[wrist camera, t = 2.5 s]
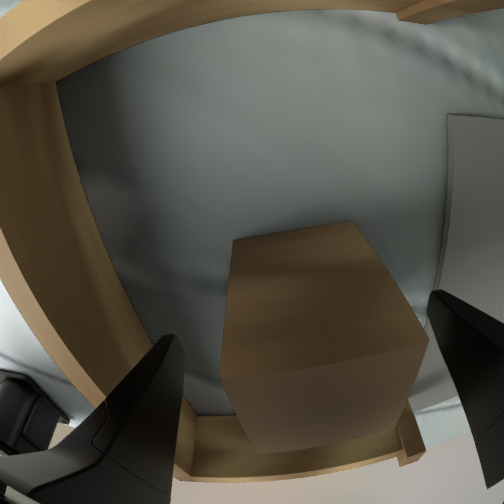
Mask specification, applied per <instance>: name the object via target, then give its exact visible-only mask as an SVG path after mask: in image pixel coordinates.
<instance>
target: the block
mask: <svg viewBox="0 0 504 504" xmlns="http://www.w3.org/2000/svg"><path fill="white" fill-rule="evenodd" d="M429 340H430V339H429V337H428V335H427V334H426V332H425V330H424V328H423V327H422V325H421V323H420V321H419V320H418V318H417V316H416V315H415V313H414V311H413V310H412V308H411V306H410V305H409V303H408V302H407V300H406V298H405V297H404V295H403V293H402V292H401V290H400V289H399V287H398V286H397V284H396V283H395V281H394V279H393V278H392V276H391V275H390V273H389V272H388V270H387V269H386V267H385V266H384V264H383V263H382V261H381V260H380V258H379V257H378V255H377V254H376V253H375V251H374V250H373V248H372V247H371V245H370V244H369V243H368V241H367V240H366V238H365V237H364V236H363V234H362V233H361V231H360V230H359V229H358V227H357V226H356V224H355V223H354V222H353V221H349V222H342V223H336V224H329V225H323V226H317V227H310V228H304V229H298V230H292V231H285V232H279V233H273V234H267V235H261V236H255V237H249V238H243V239H237V240H233V247H232V256H231V265H230V274H229V283H228V292H227V302H226V311H225V321H224V331H223V341H222V351H221V362H220V373H219V380H220V382H221V384H222V386H223V388H224V390H225V393H226V395H227V397H228V399H229V401H230V403H231V405H232V407H233V409H234V411H235V413H236V415H237V417H238V419H239V421H240V423H241V425H242V427H243V429H244V431H245V433H246V435H247V437H248V439H249V441H250V442H251V444H252V446H253V448H254V450H255V452H256V454H261V453H273V452H283V451H292V450H299V449H306V448H313V447H319V446H325V445H330V444H335V443H340V442H345V441H350V440H354V439H359V438H363V437H367V436H371V435H375V434H378V433H382V432H386V431H389V430H392V429H394V428H395V426H396V424H397V422H398V420H399V417H400V415H401V413H402V411H403V409H404V406H405V404H406V402H407V400H408V397H409V395H410V392H411V390H412V388H413V385H414V383H415V380H416V377H417V375H418V372H419V370H420V367H421V364H422V361H423V358H424V355H425V353H426V350H427V347H428V343H429Z"/></svg>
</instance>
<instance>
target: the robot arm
mask: <svg viewBox="0 0 504 504" xmlns="http://www.w3.org/2000/svg"><path fill="white" fill-rule="evenodd" d="M427 316H428V318H429V321H430V324H431V327H432V330H433V332H434V335H435V338H436V341H437V344H438V347H439V350H440V352H441V354H442V357H443V359H444V361H445V363H446V366H447V368H448V370H449V373H450V375H451V378H452V380H453V383H454V385H455V388H456V390H457V393H458V395H459V398H460V400H461V403H462V406H463V409H464V411H465V414H466V417H467V420H468V423H469V426H470V429H471V432H472V435H473V438H474V442H475V445H476V449H477V452H478V455H479V459H480V463H481V466H482V471H483V475H484V479H485V483H486V487H487V489H488V488H490V487H492V486H493V485H495V484H497V483H498V482H500V481H501V480H503V479H504V323H502V322H500V321H499V320H497V319H495V318H493V317H492V316H490V315H488V314H486V313H485V312H483V311H481V310H479V309H477V308H476V307H474V306H472V305H470V304H468V303H467V302H465V301H463V300H461V299H459V298H457V297H455V296H454V295H452V294H450V293H448V292H446V291H444V290H442V289H438V290H434V291H432V292H431V293H430V296H429V301H428V305H427ZM183 376H184V351H183V348H182V346H181V344H180V342H179V340H178V338H177V336H176V335H175V334H166V335H163V336H162V337H161V338H160V339H159V340H158V341H157V342H156V344H155V345H154V346H153V347H152V348H151V349H150V350H149V351H148V352H147V353H146V354H145V355H144V357H143V358H142V359H141V360H140V361H139V362H138V363H137V364H136V365H135V366H134V367H133V368H132V370H131V371H130V372H129V373H128V374H127V375H126V376H125V377H124V378H123V379H122V380H121V382H120V383H119V384H118V385H117V386H116V387H115V388H114V389H113V390H112V391H111V392H110V394H109V395H108V396H107V397H106V398H105V401H104V400H103V401H102V402H101V403H100V404H99V406H98V407H97V408H96V409H95V410H94V411H93V412H92V413H91V414H90V415H89V416H88V417H87V418H86V419H85V420H84V421H83V422H82V423H81V424H80V425H79V426H77V427H76V428H75V429H74V430H73V431H72V432H71V433H70V434H69V435H67V436H66V437H65V438H64V439H63V440H62V441H61V442H60V443H58V444H57V445H56V446H54V447H53V448H51V449H48V447H49V444H50V442H51V439H52V436H53V434H54V431H55V428H56V426H57V423H58V422H59V423H63V424H69V423H70V419H69V418H68V417H67V416H65V415H64V414H63V413H62V412H61V411H60V410H59V409H58V408H57V407H56V406H55V405H54V404H53V403H52V402H51V401H50V400H49V399H48V398H47V397H46V395H45V394H44V393H43V392H42V391H41V390H40V389H39V388H38V387H37V386H36V385H35V383H34V382H33V381H32V380H31V379H30V378H29V377H27V376H25V375H20V374H15V373H9V372H4V371H0V455H2V456H0V504H170V501H171V497H170V496H171V487H172V478H173V469H174V460H175V451H176V443H177V435H178V427H179V419H180V412H181V404H182V397H183ZM503 504H504V502H503Z"/></svg>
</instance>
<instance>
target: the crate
mask: <svg viewBox="0 0 504 504" xmlns="http://www.w3.org/2000/svg"><path fill="white" fill-rule="evenodd" d="M501 8H504V0H23V1H21V2H20V3H19V4H18V5H16V6H15V7H14V8H13V9H11V10H10V11H9V12H8V13H6V14H5V15H4V16H3V17H2V18H1V19H0V279H1V281H2V283H3V285H4V286H5V288H6V290H7V292H8V293H9V295H10V297H11V299H12V300H13V302H14V304H15V305H16V307H17V309H18V310H19V312H20V314H21V315H22V317H23V318H24V320H25V321H26V323H27V324H28V326H29V327H30V329H31V330H32V332H33V333H34V335H35V336H36V338H37V339H38V340H39V342H40V343H41V345H42V346H43V347H44V349H45V350H46V351H47V353H48V354H49V355H50V357H51V358H52V359H53V361H54V362H55V363H56V364H57V366H58V367H59V368H60V369H61V371H62V372H63V373H64V374H65V376H66V377H67V378H68V379H69V380H70V382H71V383H72V384H73V385H74V386H75V387H76V388H77V390H78V391H79V392H80V393H81V394H82V395H83V396H84V397H85V398H86V399H87V401H88V402H89V403H90V404H91V405H92V406H93V407H94V408H95V409H96V408H97V407H98V406H99V404H100V403H101V402H102V401H103V400H104V401H105V398H106V397H107V396H108V395H109V394H110V392H111V391H112V390H113V389H114V388H115V387H116V386H117V385H118V384H119V383H120V382H121V380H122V379H123V378H124V377H125V376H126V375H127V374H128V373H129V372H130V371H131V370H132V368H133V367H134V366H135V365H136V364H137V363H138V362H139V361H140V360H141V359H142V358H143V357H144V355H145V354H146V353H147V352H148V351H149V350H150V349H151V348H152V347H153V344H152V342H151V340H150V339H149V337H148V335H147V333H146V331H145V329H144V328H143V326H142V324H141V322H140V320H139V318H138V316H137V314H136V312H135V310H134V308H133V306H132V304H131V302H130V300H129V298H128V296H127V294H126V292H125V290H124V288H123V286H122V284H121V281H120V279H119V277H118V275H117V273H116V271H115V268H114V266H113V264H112V262H111V259H110V257H109V255H108V252H107V250H106V247H105V245H104V243H103V240H102V238H101V235H100V233H99V230H98V228H97V225H96V222H95V220H94V217H93V214H92V212H91V209H90V206H89V203H88V201H87V198H86V195H85V192H84V189H83V186H82V183H81V180H80V177H79V174H78V170H77V167H76V164H75V161H74V157H73V154H72V150H71V147H70V143H69V139H68V135H67V132H66V128H65V124H64V119H63V115H62V111H61V106H60V101H59V97H58V92H57V86H56V81H58V80H60V79H62V78H64V77H65V76H67V75H69V74H71V73H73V72H75V71H77V70H79V69H81V68H83V67H85V66H87V65H89V64H91V63H93V62H95V61H97V60H100V59H102V58H104V57H106V56H109V55H111V54H113V53H116V52H118V51H120V50H123V49H125V48H128V47H130V46H133V45H136V44H138V43H141V42H144V41H147V40H150V39H153V38H156V37H159V36H162V35H165V34H168V33H172V32H175V31H178V30H182V29H186V28H189V27H193V26H197V25H201V24H205V23H210V22H214V21H219V20H224V19H229V18H235V17H241V16H247V15H254V14H261V13H269V12H279V11H290V10H307V9H356V10H372V11H383V12H392V13H397V18H398V20H399V21H407V22H414V23H420V24H429V23H433V22H437V21H440V20H444V19H448V18H453V17H457V16H461V15H466V14H471V13H476V12H482V11H488V10H494V9H501ZM425 452H426V449H425V446H424V443H423V440H422V437H421V434H420V431H419V428H418V425H417V422H416V419H415V417H414V414H413V411H412V408H411V406H410V403H409V400H407V402H406V404H405V406H404V409H403V411H402V413H401V415H400V417H399V420H398V422H397V424H396V426H395V428H394V429H392V430H389V431H386V432H382V433H378V434H375V435H371V436H367V437H363V438H359V439H354V440H350V441H345V442H340V443H335V444H330V445H325V446H319V447H313V448H306V449H299V450H292V451H283V452H273V453H261V454H256V452H255V450H254V448H253V446H252V444H251V442H250V441H249V439H248V437H247V435H246V433H245V431H244V429H243V427H242V425H241V423H240V421H239V419H238V417H237V415H227V416H197V415H196V413H195V412H194V410H193V409H192V407H191V406H190V404H189V403H188V401H187V400H186V398H185V397H184V395H183V397H182V404H181V412H180V419H179V427H178V435H177V443H176V451H175V460H174V469H173V476H174V477H175V478H176V479H178V480H179V481H190V482H215V483H216V482H217V483H237V482H239V483H240V482H263V481H276V480H286V479H295V478H303V477H310V476H316V475H322V474H328V473H334V472H339V471H344V470H348V469H352V468H357V467H361V466H365V465H369V464H373V463H377V462H380V461H384V460H387V459H391V458H394V457H397V458H398V462H399V466H400V467H401V466H404V465H407V464H410V463H413V462H415V461H418V460H419V459H420V457H421V456H422V455H423V454H424V453H425Z"/></svg>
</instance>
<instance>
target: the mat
mask: <svg viewBox="0 0 504 504" xmlns="http://www.w3.org/2000/svg"><path fill="white" fill-rule="evenodd" d="M447 126H448V179H447V197H446V210H445V220H444V229H443V237H442V245H441V251H440V258H439V264H438V270H437V275H436V280H435V285H434V290H438V289H442V290H444V291H446V292H448V293H450V294H452V295H454V296H455V297H457V298H459V299H461V300H463V301H465V302H467V303H468V304H470V305H472V306H474V307H476V308H477V309H479V310H481V311H483V312H485V313H486V314H488V315H490V316H492V317H493V318H495V319H497V320H499V321H500V322H502V323H504V119H499V118H490V117H480V116H469V115H453V114H447ZM434 290H433V291H434ZM424 330H425V332H426V334H427V335H428V337H429V339H430V340H429V343H428V347H427V350H426V353H425V355H424V358H423V361H422V364H421V367H420V370H419V372H418V375H417V377H416V380H415V383H414V385H413V388H412V390H411V392H410V395H409V397H408V400H409V403H410V406H411V408H412V411H413V412H416V411H419V410H421V409H424V408H427V407H430V406H433V405H435V404H438V403H440V402H443V401H446V400H448V399H450V398H453V397H455V396H458V393H457V390H456V388H455V385H454V383H453V380H452V378H451V375H450V373H449V370H448V368H447V366H446V363H445V361H444V359H443V357H442V354H441V352H440V350H439V347H438V344H437V341H436V338H435V335H434V332H433V330H432V327H431V324H430V321H429V318H428V316H427V320H426V324H425V327H424Z"/></svg>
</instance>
